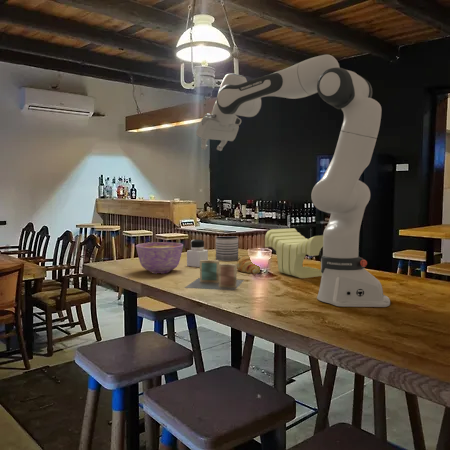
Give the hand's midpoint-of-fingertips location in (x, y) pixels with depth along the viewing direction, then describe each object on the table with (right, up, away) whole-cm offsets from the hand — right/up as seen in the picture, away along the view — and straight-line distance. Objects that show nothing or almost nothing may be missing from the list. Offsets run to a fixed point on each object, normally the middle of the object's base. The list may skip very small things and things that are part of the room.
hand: (211, 149), depth 183 cm
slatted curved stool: (+37, -50, +10) cm, 63 cm away
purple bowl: (-22, -50, +16) cm, 57 cm away
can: (+6, -47, +51) cm, 70 cm away
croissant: (+15, -50, +19) cm, 55 cm away
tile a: (0, -51, -9) cm, 52 cm away
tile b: (+6, -52, -17) cm, 55 cm away
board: (+2, -52, -12) cm, 53 cm away
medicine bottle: (-7, -49, +32) cm, 59 cm away
